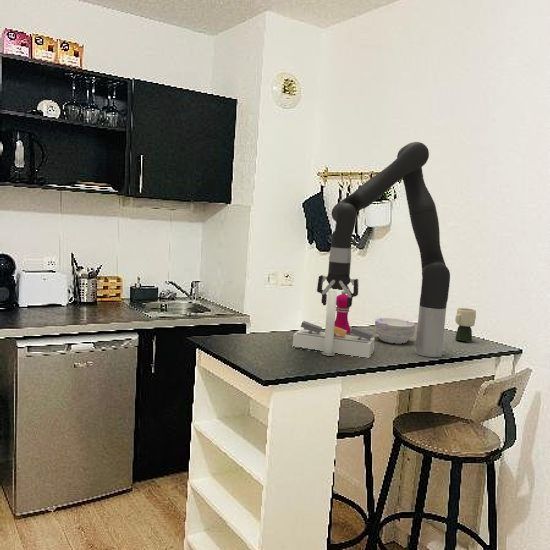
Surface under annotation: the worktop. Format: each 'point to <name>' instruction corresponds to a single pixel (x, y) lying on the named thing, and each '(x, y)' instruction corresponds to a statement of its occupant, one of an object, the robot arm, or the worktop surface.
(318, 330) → the paddle
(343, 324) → the pepper mill
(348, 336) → the breaker panel
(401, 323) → the paper bowls
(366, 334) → the paddle
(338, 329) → the block
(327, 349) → the post
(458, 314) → the character mug
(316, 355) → the worktop surface
